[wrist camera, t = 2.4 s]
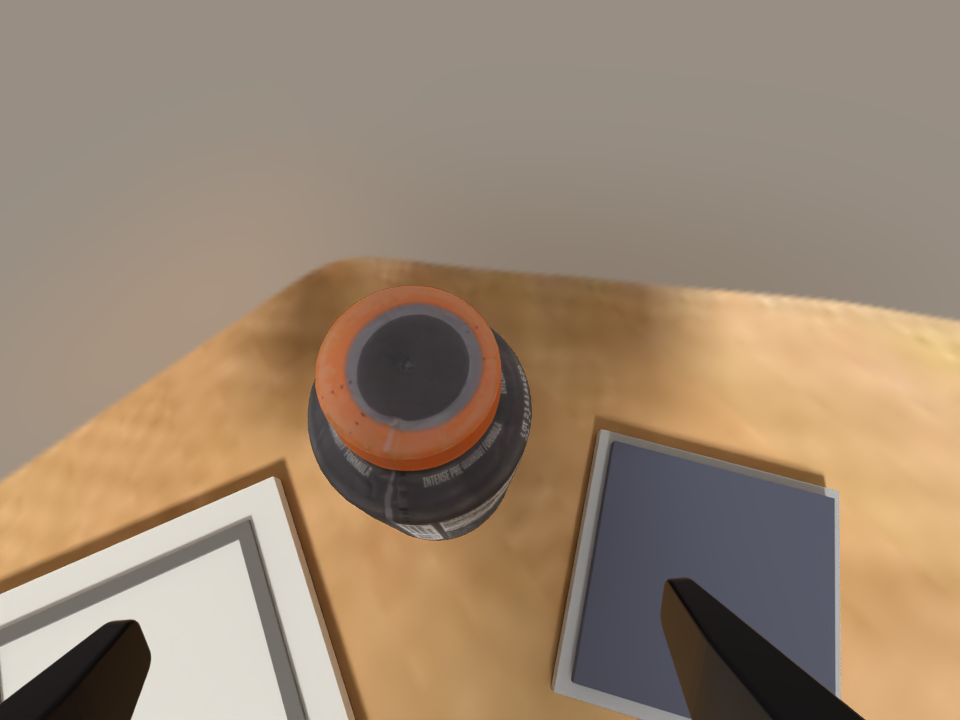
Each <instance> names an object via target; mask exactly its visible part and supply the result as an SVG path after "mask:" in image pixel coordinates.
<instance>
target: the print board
mask: <svg viewBox="0 0 960 720" xmlns="http://www.w3.org/2000/svg"><path fill="white" fill-rule="evenodd" d="M128 619H133V620H136V621H137V622H139V624H140V626H141V629H142V631H143V634H144V636H145V639H146V641H147V644H148V646H149V649H150V652H151V664H150V668H149V672H148V674H147V677H146V680H145V683H144V685H143V688H142V691H141V694H140V696H139V699H138V702H137V705H136V707H135V710H134V713H133V716H132V718H131V720H355V717H354V714H353V711H352V708H351V704H350V701H349V698H348V695H347V691H346V688H345V685H344V682H343V679H342V675H341V672H340V669H339V666H338V663H337V659H336V656H335V653H334V650H333V647H332V643H331V640H330V637H329V634H328V631H327V627H326V624H325V621H324V618H323V615H322V611H321V608H320V605H319V602H318V598H317V595H316V592H315V589H314V586H313V582H312V579H311V576H310V573H309V570H308V566H307V563H306V560H305V557H304V554H303V550H302V547H301V544H300V541H299V538H298V534H297V531H296V528H295V525H294V522H293V518H292V515H291V512H290V509H289V505H288V502H287V499H286V496H285V493H284V489H283V486H282V483H281V480H280V479H278V478H276V477H274V476H273V477H270V478H268V479H266V480H263V481H261V482H259V483H256V484H254V485H252V486H249V487H247V488H245V489H242V490H240V491H238V492H235V493H233V494H231V495H229V496H226V497H224V498H222V499H219V500H217V501H215V502H212V503H210V504H208V505H205V506H203V507H201V508H198V509H196V510H194V511H192V512H189V513H187V514H185V515H182V516H180V517H178V518H175V519H173V520H171V521H168V522H166V523H164V524H161V525H159V526H157V527H154V528H152V529H150V530H148V531H145V532H143V533H141V534H138V535H136V536H134V537H131V538H129V539H127V540H124V541H122V542H120V543H117V544H115V545H113V546H111V547H108V548H106V549H104V550H101V551H99V552H97V553H94V554H92V555H90V556H87V557H85V558H83V559H80V560H78V561H76V562H74V563H71V564H69V565H67V566H64V567H62V568H60V569H57V570H55V571H53V572H50V573H48V574H46V575H43V576H41V577H39V578H36V579H34V580H32V581H30V582H27V583H25V584H23V585H20V586H18V587H16V588H13V589H11V590H9V591H6V592H4V593H2V594H0V703H2V702H3V701H4V700H6V699H7V698H8V697H9V696H11V695H12V694H13V693H15V692H16V691H17V690H19V689H20V688H21V687H23V686H24V685H25V684H27V683H28V682H29V681H30V680H32V679H33V678H34V677H36V676H37V675H38V674H40V673H41V672H42V671H44V670H45V669H46V668H47V667H49V666H50V665H51V664H53V663H54V662H55V661H57V660H58V659H59V658H61V657H62V656H63V655H65V654H66V653H67V652H68V651H70V650H71V649H72V648H74V647H75V646H76V645H78V644H79V643H80V642H82V641H83V640H84V639H86V638H87V637H88V636H89V635H91V634H92V633H93V632H95V631H96V630H97V629H99V628H100V627H101V626H103V625H104V624H106V623H108V622H110V621H115V620H128Z"/></svg>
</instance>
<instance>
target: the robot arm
mask: <svg viewBox="0 0 960 720" xmlns="http://www.w3.org/2000/svg"><path fill="white" fill-rule="evenodd" d="M660 619H661V624H662V628H663V632H664V635H665V638H666V641H667V644H668V647H669V651H670V654H671V657H672V660H673V663H674V667H675V670H676V673H677V676H678V679H679V682H680V686H681V689H682V692H683V695H684V698H685V701H686V705H687V708H688V711H689V714H690V716H691V719H692V720H865V719H864V718H863V717H861V716H860V715H859V714H858V713H856V712H855V711H854V710H853V709H851V708H850V707H849V706H848V705H847V704H845V703H844V702H843V701H842V700H840V699H839V698H838V697H837V696H835V695H834V694H833V693H832V692H830V691H829V690H828V689H827V688H826V687H824V686H823V685H822V684H821V683H819V682H818V681H817V680H816V679H814V678H813V677H812V676H811V675H810V674H808V673H807V672H806V671H805V670H803V669H802V668H801V667H800V666H798V665H797V664H796V663H795V662H794V661H792V660H791V659H790V658H789V657H787V656H786V655H785V654H784V653H782V652H781V651H780V650H779V649H778V648H776V647H775V646H774V645H773V644H771V643H770V642H769V641H768V640H766V639H765V638H764V637H763V636H762V635H760V634H759V633H758V632H757V631H755V630H754V629H753V628H752V627H750V626H749V625H748V624H747V623H746V622H744V621H743V620H742V619H741V618H739V617H738V616H737V615H736V614H734V613H733V612H732V611H731V610H730V609H728V608H727V607H726V606H725V605H723V604H722V603H721V602H720V601H718V600H717V599H716V598H715V597H713V596H712V595H711V594H710V593H709V592H707V591H706V590H705V589H704V588H702V587H701V586H700V585H699V584H697V583H696V582H695V581H694V580H692V579H690V578H687V577H683V578H670V579H667V580H666V581H665V584H664V589H663V596H662V603H661V610H660ZM150 664H151V652H150V649H149V646H148V644H147V641H146V639H145V636H144V634H143V631H142V629H141V626H140V624H139V622H137V621H136V620H133V619H128V620H115V621H110V622H108V623H106V624H104V625H103V626H101V627H100V628H99V629H97V630H96V631H95V632H93V633H92V634H91V635H89V636H88V637H87V638H86V639H84V640H83V641H82V642H80V643H79V644H78V645H76V646H75V647H74V648H72V649H71V650H70V651H68V652H67V653H66V654H65V655H63V656H62V657H61V658H59V659H58V660H57V661H55V662H54V663H53V664H51V665H50V666H49V667H47V668H46V669H45V670H44V671H42V672H41V673H40V674H38V675H37V676H36V677H34V678H33V679H32V680H30V681H29V682H28V683H27V684H25V685H24V686H23V687H21V688H20V689H19V690H17V691H16V692H15V693H13V694H12V695H11V696H9V697H8V698H7V699H6V700H4V701H3V702H2V703H0V720H131V718H132V716H133V713H134V710H135V707H136V705H137V702H138V699H139V696H140V694H141V691H142V688H143V685H144V683H145V680H146V677H147V674H148V672H149V668H150Z"/></svg>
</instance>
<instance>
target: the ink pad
mask: <svg viewBox="0 0 960 720" xmlns="http://www.w3.org/2000/svg"><path fill="white" fill-rule="evenodd" d="M683 577H687V578H690V579H692V580H694V581H695V582H696V583H697V584H699V585H700V586H701V587H702V588H704V589H705V590H706V591H707V592H709V593H710V594H711V595H712V596H713V597H715V598H716V599H717V600H718V601H720V602H721V603H722V604H723V605H725V606H726V607H727V608H728V609H730V610H731V611H732V612H733V613H734V614H736V615H737V616H738V617H739V618H741V619H742V620H743V621H744V622H746V623H747V624H748V625H749V626H750V627H752V628H753V629H754V630H755V631H757V632H758V633H759V634H760V635H762V636H763V637H764V638H765V639H766V640H768V641H769V642H770V643H771V644H773V645H774V646H775V647H776V648H778V649H779V650H780V651H781V652H782V653H784V654H785V655H786V656H787V657H789V658H790V659H791V660H792V661H794V662H795V663H796V664H797V665H798V666H800V667H801V668H802V669H803V670H805V671H806V672H807V673H808V674H810V675H811V676H812V677H813V678H814V679H816V680H817V681H818V682H819V683H821V684H822V685H823V686H824V687H826V688H827V689H828V690H829V691H830V692H832V693H833V694H834V695H835V696H837V697H838V698H839V699H840V700H841V653H840V529H839V491H837V490H833V489H829V488H826V487H822V486H818V485H814V484H810V483H806V482H803V481H799V480H795V479H791V478H787V477H783V476H780V475H776V474H772V473H768V472H764V471H760V470H757V469H753V468H749V467H745V466H741V465H738V464H734V463H730V462H726V461H722V460H718V459H715V458H711V457H707V456H703V455H699V454H695V453H692V452H688V451H684V450H680V449H676V448H672V447H669V446H665V445H661V444H657V443H653V442H649V441H646V440H642V439H638V438H634V437H630V436H627V435H623V434H619V433H615V432H611V431H607V430H604V429H601V430H600V431H599V432H598V433H597V438H596V444H595V449H594V455H593V460H592V466H591V471H590V477H589V482H588V488H587V493H586V499H585V504H584V509H583V515H582V520H581V526H580V531H579V537H578V542H577V548H576V553H575V559H574V564H573V570H572V575H571V581H570V586H569V592H568V597H567V603H566V608H565V614H564V619H563V625H562V630H561V635H560V641H559V646H558V652H557V657H556V663H555V668H554V674H553V679H552V685H551V689H552V691H553V692H554V693H557V694H561V695H564V696H567V697H570V698H573V699H577V700H580V701H583V702H586V703H590V704H593V705H596V706H599V707H603V708H606V709H609V710H612V711H616V712H619V713H622V714H625V715H629V716H632V717H635V718H638V719H642V720H692V719H691V716H690V714H689V711H688V708H687V705H686V701H685V698H684V695H683V692H682V689H681V686H680V682H679V679H678V676H677V673H676V670H675V667H674V663H673V660H672V657H671V654H670V651H669V647H668V644H667V641H666V638H665V635H664V632H663V628H662V624H661V619H660V610H661V603H662V596H663V589H664V584H665V581H666V580H667V579H670V578H683Z"/></svg>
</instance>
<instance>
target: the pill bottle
mask: <svg viewBox="0 0 960 720" xmlns="http://www.w3.org/2000/svg"><path fill="white" fill-rule="evenodd" d="M531 417H532V409H531V396H530V390H529V386H528V382H527V379H526V376H525V373H524V371H523V368H522V366H521V364H520V362H519V360H518V358H517V356H516V355H515V353H514V352H513V350H512V349H511V348H510V347H509V345H508V344H507V343H506V342H505V341H504V340H503V339H502V337H501V336H500V335H499V334H498V333H496V332H495V331H494V330H493V329H492V328H490V327H489V326H488V325H487V323H486V322H485V320H484V319H483V318H482V317H481V315H480V314H479V313H478V312H477V311H476V310H475V309H473V308H472V307H471V306H470V305H468V304H467V303H466V302H464V301H463V300H462V299H460V298H459V297H457V296H455V295H453V294H451V293H448V292H446V291H443V290H440V289H437V288H432V287H426V286H399V287H393V288H387V289H384V290H382V291H379V292H376V293H373V294H371V295H369V296H367V297H365V298H363V299H361V300H360V301H358V302H356V303H355V304H353V305H352V306H351V307H350V308H349V309H348V310H346V311H345V312H344V313H343V314H342V315H341V316H340V317H339V318H338V319H337V320H336V321H335V322H334V324H333V325H332V326H331V328H330V329H329V331H328V333H327V335H326V336H325V338H324V340H323V342H322V344H321V347H320V350H319V353H318V357H317V361H316V368H315V380H314V383H313V386H312V389H311V393H310V399H309V406H308V431H309V436H310V442H311V446H312V449H313V452H314V455H315V457H316V460H317V462H318V464H319V467H320V469H321V470H322V472H323V474H324V475H325V477H326V478H327V479H328V481H329V482H330V484H331V485H332V486H333V487H334V488H335V489H336V490H337V491H338V492H339V493H340V494H341V495H342V496H343V497H344V498H345V499H346V500H347V501H349V502H350V503H351V504H353V505H355V506H356V507H358V508H359V509H361V510H362V511H364V512H365V513H367V514H368V515H370V516H372V517H373V518H375V519H377V520H379V521H381V522H383V523H385V524H387V525H389V526H391V527H393V528H396V529H397V530H399V531H401V532H403V533H405V534H407V535H409V536H412V537H416V538H420V539H425V540H433V541H440V540H448V539H453V538H457V537H460V536H463V535H465V534H467V533H469V532H471V531H473V530H475V529H476V528H478V527H479V526H480V525H481V524H483V523H484V522H485V521H486V520H487V519H488V518H489V517H490V516H491V515H492V514H493V513H494V511H495V510H496V509H497V507H498V506H499V504H500V503H501V501H502V499H503V498H504V496H505V493H506V491H507V488H508V486H509V484H510V481H511V479H512V477H513V475H514V473H515V471H516V469H517V467H518V465H519V463H520V460H521V457H522V455H523V452H524V449H525V446H526V443H527V440H528V436H529V431H530V425H531Z"/></svg>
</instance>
